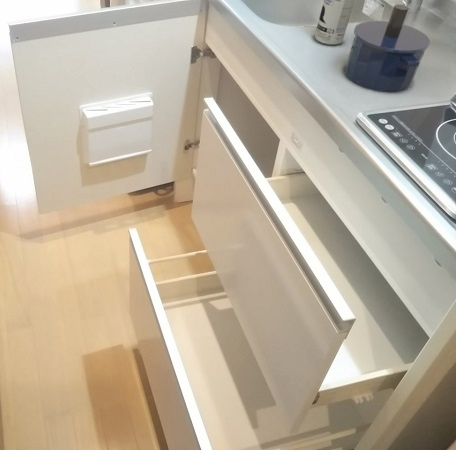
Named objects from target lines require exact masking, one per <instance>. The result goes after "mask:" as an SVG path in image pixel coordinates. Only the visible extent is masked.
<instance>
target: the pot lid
mask: <svg viewBox="0 0 456 450" xmlns="http://www.w3.org/2000/svg"><path fill="white" fill-rule="evenodd" d="M409 11H410V7H409V6H407V5H404V4H394V5H393V8H392V11H391V14H390V17H389V20H387V21H385V20H368V21H363V22H361V23H358V24H356V26H355V27H354V29H353V35H354V37H356V38H357V39H358V40H360V41H361V42H363V43H364V44H366V45H368V46H371V47H373V48H376V49H380V50H383V51H388V52H394V53H418V52H421V51H424V50H425V51H427V49H428V48H429V46H430V44H431V41H430V38H429V36H428V35H426V34H425V33H424V32H423V31H421V30H419V29H417V28H414V27H412V26H410V25H407V24H405V22H406V19H407V17H408V13H409Z"/></svg>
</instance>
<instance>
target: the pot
mask: <svg viewBox="0 0 456 450" xmlns="http://www.w3.org/2000/svg"><path fill="white" fill-rule="evenodd" d="M425 52H426V50H424V51H421V52H418V53H394V52H388V51H383V50H380V49H376V48H373V47H371V46H368V45H366V44H364V43H363V42H361V41H360V40H358V39H357V38H356V37H355V36H354V38H353V40H352V44H351V47H350V51H349V54H348V58H347V60H346V63H345V69H344V74H345V76H346V78H347V79H348V80H349V81H351V82H352V83H354V84H355V85H357V86H360V87H361V88H364V89H366V90H367V89H368V90H370V91H375V92H382V93H398V92H403V91H405V90H407V89H409V88H410V87H411V85H412V83H413V81H414V79H415V76H416V74H417V72H418V69H419V67H420V64H421V61H422V60H423V57H424V54H425Z"/></svg>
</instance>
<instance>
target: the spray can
mask: <svg viewBox="0 0 456 450" xmlns="http://www.w3.org/2000/svg"><path fill="white" fill-rule="evenodd" d="M355 1H356V0H323V3H322V5H321V10H320V14H319V17H318V22H317V26H316V30H315V33H314V39H315V41H316V42H317V43H319V44H322V45H325V46H332V47H333V46H339V45H341V44H342V43H343V41H344V38H345V35H346V31H347V28H348V25H349V21H350V19H351V14H352V11H353V8H354V5H355Z"/></svg>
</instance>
